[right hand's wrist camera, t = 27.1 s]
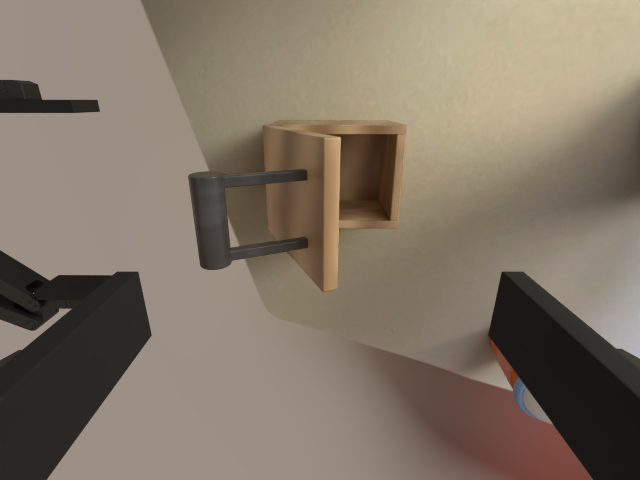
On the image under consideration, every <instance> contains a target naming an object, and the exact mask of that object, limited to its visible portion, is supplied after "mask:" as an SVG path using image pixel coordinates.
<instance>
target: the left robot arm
mask: <svg viewBox="0 0 640 480" xmlns="http://www.w3.org/2000/svg"><path fill="white" fill-rule="evenodd" d="M99 111H100V110H99V105H98V101H97V100H42V98H41V94H40V91H39V87H38V84H35V83H33V82H30V81H19V80H0V113H80V112H99ZM110 277H111V276H109V275H108V276H107V275H58V276H57V277H55V278H54V279H52V280H51V281H49V280H48V279H46V278H44V277H43V276H41V275H39V274H38V273H36V272H35V271H33V270H31V269H30V268H28V267H26V266H25V265H23V264H21V263H20V262H18V261H17V260H15V259H13V258H12V257H10V256H8V255H7V254H5V253H4V252H2V251H0V320H3V321H6V322H9V323H11V324H14V325H17V326H19V327H22V328H25V329H28V330H31V331H34V330H36V329H38V328H39V327H40V326H41V325H43V324H44V323H45V322H47V321H48V320H49V319H50V318H52V317H53V316H54V315H55V314H57V313H58V311H59V308H62V309H66V308H68V309H72V308H74V307H75V306H76V305H77V304H79V303H80V302H81V301H82V300H83V299H85V298H86V297H87V296H88V295H89V294H91V293H92V292H93V291H94V290H96V289H97V288H98V287H99V286H100V285H102V284H103V283H104V282H105V281H106V280H108V279H109V278H110ZM33 293H34V294H33Z"/></svg>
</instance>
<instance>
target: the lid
mask: <svg viewBox="0 0 640 480" xmlns="http://www.w3.org/2000/svg"><path fill="white" fill-rule="evenodd" d="M262 128H263V146H264V164H265V172H253V173H240V174H226V175H223V174H222V173H220V172H197V173H192V174H190V175H189V176H188V178H189V186H190V193H191V200H192V208H193V215H194V222H195V230H196V237H197V245H198V252H199V259H200V266H201V267H202V268H204V269H207V270H217V269H222V268H225V267H227V266H229V265H230V264H231V262H232V260H238V259H244V258H250V257H256V256H262V255H269V254H275V253H281V252H288V254H289V255H290V256H291V257H292V258H293V259H294V260H295V261H296V262H297V264H298V265H299V266H300V267H301V268H302V269H303V270H304V271H305V273H306V274H307V275H308V276H309V277H310V278H311V279H312V280H313V281H314V283H315V284H316V285H317V286H318V287H319V288H320V289H321V290H322V291H323V292H327V291H331V290H336V289H337V279H338V236H339V192H340V148H341V138H340V137H336V136H331V135H325V134H320V133H314V132H309V131H303V130H298V129H292V128H287V127H281V126H276V125H263V126H262ZM262 184H266V201H267V219H268V231H269V232H270V233H271V235H272V236H273V237H274V238H275V239H276V240H277V241H272V242H266V243H259V244H253V245H246V246H239V247H233V248H230V239H229V229H228V219H227V209H226V198H225V188H227V187H239V186H250V185H262Z"/></svg>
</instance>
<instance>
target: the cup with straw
mask: <svg viewBox="0 0 640 480" xmlns="http://www.w3.org/2000/svg"><path fill="white" fill-rule="evenodd" d="M490 343H491V347H492V349H493V351H494V352H495V354H496V356H497V360H498V363H499V365H500V366H501V368H502V370H503V372H504V374H505V376H506V378H507V380H508V381H509V383H510V385H511V387H512V388H513V395H514V399H515V401H516V403H517V405H518V406H519V408H520V409H521V410H522V411H523V412H524V413H526V414H527V415H529V416H531V417H533V418H536V419H540V420H542V421H544V422H547V423H550V424H553V423H552V422H551V421H550V419H549V418H548V417H547V415H546V414H545V412H544V411H543V410H542V408H541V407H540V406H539V404H538V403H537V401H536V400H535V399H534V397H533V396H532V395H531V393H530V392H529V390H528V389H527V388H526V386H525V385H524V384H523V382H522V381H521V379H520V378H519V377H518V375H517V374H516V373H515V371H514V370H513V368H512V367H511V366H510V364H509V363H508V362H507V360H506V359H505V357H504V356H503V355H502V353H501V352H500V351H499V349H498V348H497V346H496V345H495V344H494V342H493V341H492V340H491V338H490Z"/></svg>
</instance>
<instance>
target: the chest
mask: <svg viewBox="0 0 640 480" xmlns="http://www.w3.org/2000/svg"><path fill="white" fill-rule="evenodd" d="M270 125H276V126H281V127H287V128H292V129H298V130H303V131H309V132H314V133H320V134H325V135H331V136H336V137H340V138H341V148H340V192H339V228H398V218H399V207H400V195H401V184H402V173H403V161H404V150H405V139H406V135H405V134H406V128H407V125H404V124H400V123H396V122H392V121H292V120H280V121H278V122H275V123H273V124H270Z"/></svg>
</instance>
